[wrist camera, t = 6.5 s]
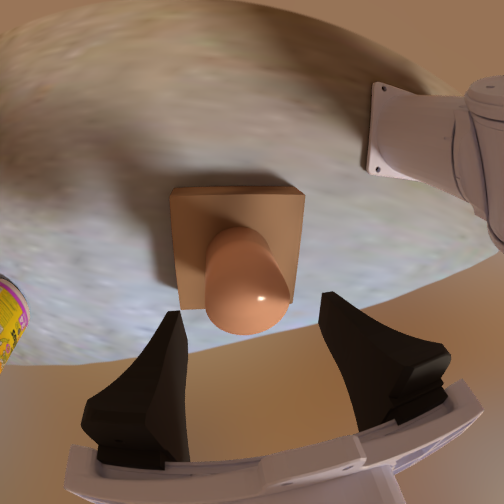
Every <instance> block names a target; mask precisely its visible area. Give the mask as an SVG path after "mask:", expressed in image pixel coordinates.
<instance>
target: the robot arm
mask: <svg viewBox="0 0 504 504" xmlns="http://www.w3.org/2000/svg"><path fill="white" fill-rule="evenodd" d="M382 87H383V88H384V91H383V90H382ZM376 167H378V171H377V172H376ZM366 171H367V172H368V173H369V174H371V175H378V176H386V177H393V178H401V179H407V180H414V181H420V182H423V183H426V184H428V185H431V186H433V187H435V188H438V189H440V190H442V191H444V192H447V193H449V194H451V195H453V196H455V197H458V198H460V199H462V200H464V201H466V202H468V203H470V204H471V205H472V206H473V209H474V213H475V215H477V216H478V217H480V218H482V219H484V220H486V221H487V229H488V233H489V236H490V238H491V240H492V242H493V243H494V245H495V246H496V247H497V248H498V249H499V250H500V251H501V252H503V253H504V75H500V76H492V77H487V78H483V79H480V80H477V81H475V82H473V83H472V84H471V85H470V87H469V89H468V90H467V92H466V93H465V95H464V97H460V96H442V95H416V94H414V93H411V92H408V91H406V90H403V89H400V88H397V87H394V86H391V85H388V84H385V83H382V82H374V83H373V85H372V104H371V122H370V135H369V146H368V156H367V165H366ZM318 324H319V327H320V329H321V332H322V335H323V338H324V340H325V342H326V344H327V346H328V348H329V350H330V352H331V354H332V356H333V358H334V360H335V362H336V364H337V366H338V368H339V370H340V372H341V374H342V376H343V379H344V382H345V384H346V387H347V390H348V393H349V396H350V399H351V403H352V406H353V410H354V413H355V417H356V421H357V425H358V430H359V433H357V434H353V435H348V436H343V437H339V438H336V439H332V440H328V441H325V442H321V443H317V444H313V445H309V446H306V447H301V448H297V449H291V450H286V451H282V452H278V453H274V454H271V455H267V456H261V457H254V458H245V459H236V460H226V461H210V462H190V456H189V448H188V440H187V430H186V416H185V386H186V375H187V363H188V340H187V336H186V332H185V329H184V325H183V321H182V317H181V313H180V310H179V311H168V312H167V313H166V315H165V317H164V318H163V320H162V322H161V324H160V325H159V327H158V329H157V330H156V332H155V334H154V335H153V337H152V338H151V340H150V341H149V343H148V344H147V346H146V347H145V348H144V350H143V351H142V353H141V354H140V355H139V356H138V358H137V359H136V360H135V361H134V362H133V364H132V365H131V366H130V367H129V368H128V369H127V370H126V371H125V372H124V373H123V374H122V375H121V376H120V377H119V378H117V379H116V380H115V381H114V382H113V383H111V384H110V385H109V386H108V387H106V388H105V389H104V390H102V391H101V392H99V393H98V394H96V395H95V396H93V397H92V398H90V399H88V400H87V403H86V406H85V409H84V413H83V417H82V422H81V427H82V429H83V430H84V432H85V433H86V434H87V435H88V436H89V437H90V438H91V439H93V440H94V441H95V442H96V443H97V444H98V445H99V446H98V451H97V450H95V449H93V448H89V447H83V446H78V445H74V444H72V445H71V446H70V452H69V456H68V462H67V468H66V475H65V481H64V489H65V490H67V491H69V492H71V493H73V494H75V495H77V496H79V497H81V498H84V499H85V500H88V501H90V502H92V503H95V504H406V502H405V499H404V497H403V495H402V492H401V490H400V487H399V485H398V483H397V480H396V478H395V476H394V475H395V474H397V473H399V472H401V471H403V470H405V469H406V468H408V467H410V466H412V465H414V464H415V463H417V462H419V461H421V460H422V459H424V458H425V457H427V456H428V455H430V454H432V453H433V452H435V451H436V450H438V449H440V448H441V447H443V446H444V445H446V444H447V443H449V442H450V441H452V440H453V439H455V438H456V437H457V436H459V435H460V434H462V433H463V432H464V431H465V430H466V429H467V428H468V427H469V426H470V425H471V424H472V423H473V422H474V421H475V420H476V419H477V418H478V417H479V416H480V415H481V414H482V413H483V412H484V408H483V407H482V405H481V404H480V402H479V401H478V399H477V398H476V396H475V395H474V394H473V392H472V391H471V390H470V388H469V387H468V385H467V384H466V382H465V381H464V380H463V379H460V380H458V381H457V382H455V383H453V384H451V385H450V386H449V387H447V388H446V389H445V390H444V389H443V388H442V385H443V381H442V380H441V377H442V375H443V374H444V372H445V370H446V369H447V367H448V366H449V364H450V361H451V354H450V353H449V352H448V351H447V349H446V348H445V347H444V346H443V344H440V343H436V342H430V341H425V340H422V339H418V338H415V337H412V336H409V335H406V334H403V333H401V332H398V331H396V330H394V329H391V328H389V327H387V326H385V325H383V324H381V323H379V322H378V321H376V320H374V319H373V318H371V317H369V316H368V315H366V314H365V313H363V312H362V311H360V310H359V309H357V308H356V307H354V306H353V305H351V304H350V303H349V302H347V301H346V300H345V299H343V298H342V297H340V296H339V295H338V294H336V293H335V292H333V291H332V292H326V293H322V297H321V306H320V313H319V321H318Z"/></svg>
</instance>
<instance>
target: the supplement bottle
mask: <svg viewBox="0 0 504 504" xmlns="http://www.w3.org/2000/svg"><path fill="white" fill-rule="evenodd" d="M29 321H30V311H29V307H28V304H27V302H26V300H25V298H24V297H23V295H22V294H21V292H20V291H19V290H18V289H17V288H16V287H15V286H14V285H13V284H11V283H10V282H9V281H7V280H4V279H0V374H1V372H2V370H3V368H4V366H5V364H6V362H7V360H8V358H9V357H10V355H11V353H12V351H13V349H14V348H15V346H16V344H17V342H18V341H19V339H20V337H21V336H22V334H23V332H24V330H25V329H26V327H27V325H28V324H29Z"/></svg>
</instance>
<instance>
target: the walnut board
mask: <svg viewBox="0 0 504 504" xmlns="http://www.w3.org/2000/svg"><path fill="white" fill-rule="evenodd" d="M169 199H170V214H171V227H172V239H173V250H174V260H175V269H176V278H177V286H178V293H179V301H180V308H181V310H186V309H205V262H206V251H207V248H208V245H209V243H210V242H211V240H212V239H213V238H214V237H215V236H216V235H217V234H219V233H220V232H222V231H223V230H226V229H229V228H232V227H246V228H250V229H253V230H255V231H257V232H258V233H260V234H261V235H262V236H263V237H264V238H265V239H266V241H267V243H268V245H269V247H270V249H271V251H272V253H273V256H274V258H275V260H276V262H277V264H278V266H279V269H280V271H281V273H282V275H283V277H284V279H285V282H286V284H287V286H288V289H289V293H290V302H289V304H292V302H293V295H294V288H295V281H296V273H297V265H298V257H299V249H300V241H301V232H302V223H303V213H304V203H305V194H303V193H302V192H301V191H299V190H298V189H297V188H296V187H285V186H214V187H184V188H174V189H173V191H172V193H171V195H170V196H169Z"/></svg>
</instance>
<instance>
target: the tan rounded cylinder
mask: <svg viewBox="0 0 504 504" xmlns="http://www.w3.org/2000/svg"><path fill="white" fill-rule="evenodd" d="M289 302H290V293H289V289H288V286H287V284H286V282H285V279H284V277H283V275H282V273H281V271H280V269H279V266H278V264H277V262H276V260H275V258H274V256H273V253H272V251H271V249H270V247H269V245H268V243H267V241H266V239H265V238H264V237H263V236H262V235H261V234H260V233H258V232H257V231H255V230H253V229H250V228H246V227H232V228H229V229H226V230H223V231H222V232H220V233H219V234H217V235H216V236H215V237H214V238H213V239H212V240H211V242H210V243H209V245H208V248H207V251H206V262H205V309H206V313H207V315H208V317H209V319H210V320H211V321H212V322H213V324H215V325H216V326H217V327H218V328H220V329H221V330H223V331H225V332H228V333H232V334H237V335H251V334H256V333H260V332H263V331H265V330H267V329H269V328H271V327H272V326H274V325H275V324H276V323H278V322H279V321H280V320H281V319H282V317H283V316H284V315H285V313H286V311H287V309H288V306H289Z"/></svg>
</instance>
